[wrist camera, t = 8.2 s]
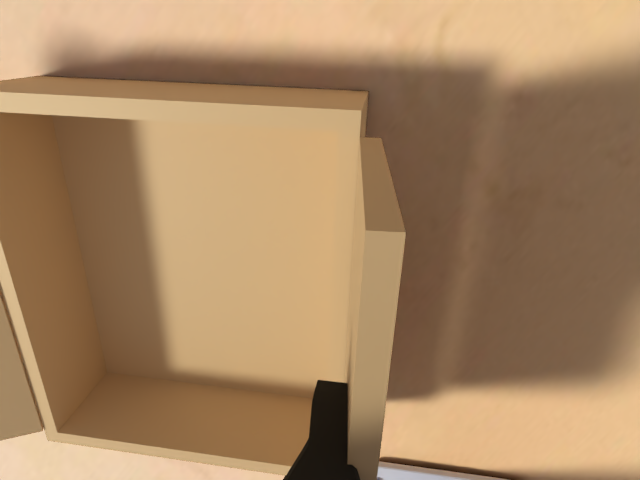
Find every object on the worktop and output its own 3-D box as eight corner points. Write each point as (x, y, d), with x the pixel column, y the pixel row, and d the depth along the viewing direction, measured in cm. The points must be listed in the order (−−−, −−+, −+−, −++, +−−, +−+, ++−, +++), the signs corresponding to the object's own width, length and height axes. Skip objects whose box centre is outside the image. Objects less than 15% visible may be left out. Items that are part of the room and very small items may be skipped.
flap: (330, 682, 12) (352, 685, 12) (365, 230, 7) (406, 232, 7) (337, 473, 18) (352, 474, 18) (359, 136, 13) (381, 137, 13)
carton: (346, 403, 23) (337, 483, 19) (105, 372, 24) (47, 440, 20) (368, 90, 16) (361, 110, 12) (39, 75, 18) (-62, 88, 14)
